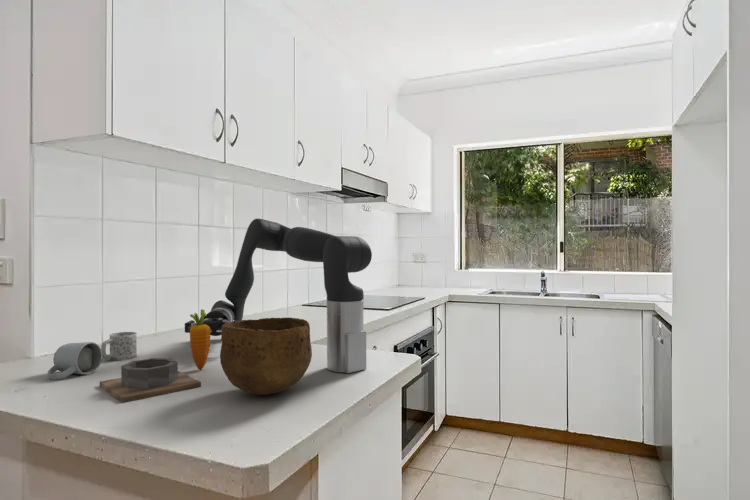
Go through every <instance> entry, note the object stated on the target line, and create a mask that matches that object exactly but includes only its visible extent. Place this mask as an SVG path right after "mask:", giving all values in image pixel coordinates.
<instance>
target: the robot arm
mask: <svg viewBox="0 0 750 500" xmlns="http://www.w3.org/2000/svg"><path fill="white" fill-rule="evenodd" d="M256 249H261V250H266V251H270V252H285V253H286V254H287V255H288V256H290V257H291V258H294V259H297V260H300V261H303V262H312V263H323V264H322V265H323V281H324V282H323V284H324V289H325V294H326V369H327V370H328V371H330V372H334V373H346V374H350V373H355V372H359V371H364V370H367V331H366V330H364V290H363V288H362V287H359V286H357V285H355V284H353V283H352V282H351V281H350V278H349V274H350V273H357V272H361V271H364V270H365V269H367V267H368V266H369V265H370V263H371V261H372V256H373V255H372V254H373V252H372V249H371V246H370V244H369V243H368V242H367V241H366V240H365V239H363V238H362V237H359V236H352V235H345V236H344V235H333V234H331V233H327V232H326V231H325V232H324V231H320V230H316V229H313V228H309V227H302V226H294V227H292V228H290V227H288V226H286V225H283V224H281V223H278V222H275V221H272V220H268V219H267V220H266V219H263V218H254V219H253V220H252V221H250V223H249V225H248V227H247V229H246V232H245V235H244V239H243V242H242V245H241V249H240V252H239V256H238V260H237V263H236V267H235V270H234V272H233V275H232V277H231V278H230V282H229V284H228V285H227V288H226V290H225V293H224V296H225V298H226V300H228V302H227V301H225V300H218V301H216V302H215V303H214V304H213V305H212V307H211V310H210V311H209V312H208V313H207V314H206V315H205V317H204V321H203V324H206V325H208V326H209V327H210V330H211V331H210V336H212V337H219V336H221V333H222V325H223V324H225V323H227V322H234V321H241V320H243V317H244V312H245V304H246V301H247V298H248V296H249V294H250V292H251V290H252V288H253V285H254V282H255V273H254V267H253V255H254V253H255V251H256ZM229 302H230V303H229ZM231 303H232V304H231ZM196 324H197V323H196V321H195V320H194V319H192V320H189V321H186V322H185V323H184V333H185V334H187V333H189V334H190V327H191V326H193V325H196Z"/></svg>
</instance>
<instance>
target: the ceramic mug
mask: <svg viewBox="0 0 750 500" xmlns="http://www.w3.org/2000/svg"><path fill="white" fill-rule="evenodd" d="M102 360H103V358H102V351H101V347H100V345H99V344H98V343H96V342H93V341H87V342H85V341H84V342H70V343H69V342H68V343H66V344H62V345H61V346H59V347H58V348H57V349H56V351H55V352H54V356H53V366H52V367H50V368H49V369H48V371H47V375H48V377H49V379H50V380H52V381H58V380H62V379H64V378H67V377H69V376H71V375H72V374H73V375H83V376H84V375H86V376H88V375H92V374H94V373H95V372H96V371H97V370H98V369H99V367H100V366H101V363H102ZM57 371H58V372H59V373H56V372H57Z"/></svg>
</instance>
